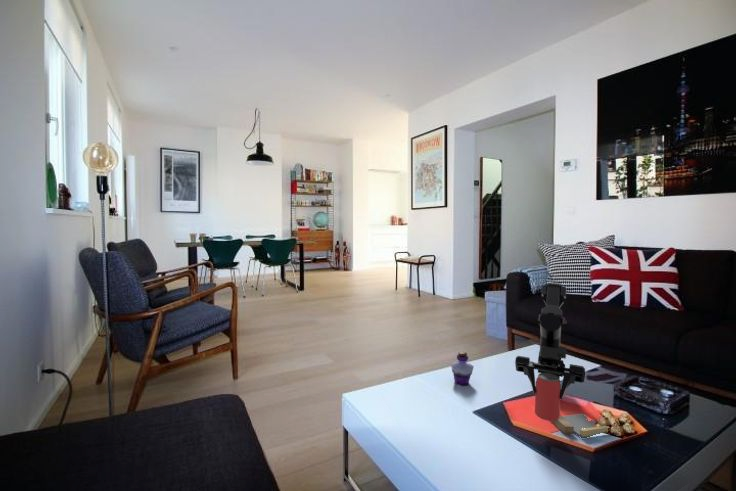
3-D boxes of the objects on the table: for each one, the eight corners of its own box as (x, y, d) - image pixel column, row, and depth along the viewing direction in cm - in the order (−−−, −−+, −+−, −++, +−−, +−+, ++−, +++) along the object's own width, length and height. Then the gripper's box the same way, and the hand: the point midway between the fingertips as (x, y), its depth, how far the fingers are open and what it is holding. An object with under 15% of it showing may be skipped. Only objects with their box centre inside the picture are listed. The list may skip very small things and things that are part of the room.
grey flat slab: (554, 419, 118) (554, 412, 118) (583, 415, 120) (583, 408, 120) (582, 439, 107) (582, 431, 107) (613, 434, 110) (613, 426, 110)
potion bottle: (472, 379, 148) (473, 349, 147) (474, 388, 140) (475, 357, 139) (450, 377, 150) (450, 348, 149) (450, 386, 141) (451, 355, 140)
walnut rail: (543, 414, 121) (543, 406, 121) (550, 414, 121) (551, 406, 121) (565, 435, 109) (565, 426, 109) (573, 434, 109) (573, 426, 109)
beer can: (562, 423, 105) (564, 382, 105) (537, 420, 107) (539, 380, 106) (555, 412, 112) (557, 373, 111) (532, 409, 113) (533, 371, 112)
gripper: (516, 330, 115) (511, 377, 106) (586, 339, 107) (587, 392, 98) (518, 347, 123) (513, 393, 114) (583, 357, 114) (583, 407, 105)
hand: (547, 396), depth 108 cm, fingers closed on beer can, 7 cm apart
